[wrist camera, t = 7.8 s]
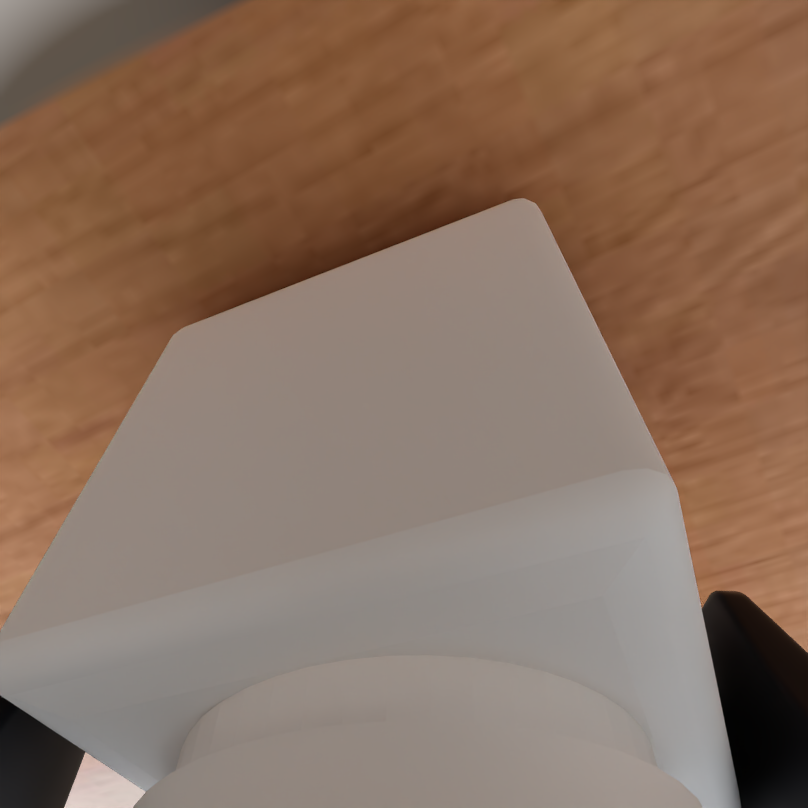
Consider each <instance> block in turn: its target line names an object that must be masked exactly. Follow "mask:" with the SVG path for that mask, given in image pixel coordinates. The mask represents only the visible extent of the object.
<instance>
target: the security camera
mask: <svg viewBox="0 0 808 808" xmlns="http://www.w3.org/2000/svg"><path fill="white" fill-rule="evenodd" d="M0 696H2V697H3V698H5V699H6V700H8V701H10V702H11V703H13V704H14V705H16V706H17V707H19V708H20V709H22V710H23V711H25V712H26V713H28V714H29V715H31V716H32V717H34V718H35V719H37V720H38V721H40V722H41V723H43V724H44V725H46V726H47V727H49V728H50V729H52V730H53V731H55V732H56V733H58V734H59V735H61V736H62V737H64V738H65V739H67V740H68V741H70V742H71V743H73V744H75V745H76V746H78V747H79V748H81V749H82V750H84V751H85V752H87V753H88V754H90V755H91V756H93V757H94V758H96V759H97V760H99V761H100V762H102V763H103V764H105V765H106V766H108V767H109V768H111V769H112V770H114V771H115V772H117V773H118V774H120V775H121V776H123V777H124V778H126V779H127V780H129V781H130V782H132V783H133V784H135V785H136V786H138V787H140V788H141V789H143V790H144V791H146V793H145V794H144V795H143V796H142V797H141V799H140V800H139V801H138V802H137V803H136V804H135V805H134V808H741V802H740V795H739V789H738V784H737V779H736V775H735V770H734V765H733V760H732V755H731V750H730V745H729V740H728V735H727V730H726V726H725V721H724V716H723V711H722V706H721V701H720V696H719V691H718V686H717V682H716V677H715V672H714V667H713V662H712V657H711V652H710V647H709V642H708V637H707V633H706V628H705V623H704V618H703V613H702V608H701V603H700V598H699V593H698V589H697V584H696V579H695V574H694V569H693V564H692V559H691V554H690V549H689V544H688V540H687V535H686V530H685V525H684V520H683V515H682V510H681V505H680V500H679V495H678V491H677V488H676V486H675V483H674V481H673V479H672V477H671V475H670V473H669V471H668V469H667V467H666V465H665V463H664V461H663V459H662V457H661V455H660V453H659V451H658V449H657V447H656V445H655V443H654V441H653V439H652V437H651V434H650V432H649V430H648V428H647V426H646V424H645V422H644V420H643V418H642V416H641V414H640V412H639V410H638V408H637V406H636V404H635V402H634V400H633V398H632V396H631V394H630V392H629V390H628V388H627V386H626V383H625V381H624V379H623V377H622V375H621V373H620V371H619V369H618V367H617V365H616V363H615V361H614V359H613V357H612V355H611V353H610V351H609V349H608V347H607V345H606V343H605V341H604V339H603V337H602V334H601V332H600V330H599V328H598V326H597V324H596V322H595V320H594V318H593V316H592V314H591V312H590V310H589V308H588V306H587V304H586V302H585V300H584V298H583V296H582V294H581V292H580V290H579V288H578V285H577V283H576V281H575V279H574V277H573V275H572V273H571V271H570V269H569V267H568V265H567V263H566V261H565V259H564V257H563V255H562V253H561V251H560V249H559V247H558V245H557V243H556V241H555V239H554V236H553V234H552V232H551V230H550V228H549V226H548V224H547V222H546V220H545V218H544V216H543V214H542V212H541V211H540V209H539V207H538V206H537V204H536V203H534V202H531V201H529V200H527V199H524V198H519V199H512V200H510V201H507V202H505V203H502V204H499V205H497V206H494V207H492V208H489V209H487V210H484V211H481V212H479V213H476V214H474V215H471V216H468V217H466V218H463V219H461V220H458V221H456V222H453V223H450V224H448V225H445V226H443V227H440V228H438V229H435V230H432V231H430V232H427V233H425V234H422V235H420V236H417V237H414V238H412V239H409V240H407V241H404V242H402V243H399V244H396V245H394V246H391V247H389V248H386V249H384V250H381V251H378V252H376V253H373V254H371V255H368V256H366V257H363V258H360V259H358V260H355V261H353V262H350V263H348V264H345V265H342V266H340V267H337V268H335V269H332V270H330V271H327V272H324V273H322V274H319V275H317V276H314V277H312V278H309V279H306V280H304V281H301V282H299V283H296V284H294V285H291V286H288V287H286V288H283V289H281V290H278V291H276V292H273V293H270V294H268V295H265V296H263V297H260V298H258V299H255V300H252V301H250V302H247V303H245V304H242V305H240V306H237V307H234V308H232V309H229V310H227V311H224V312H221V313H219V314H216V315H214V316H211V317H209V318H206V319H203V320H201V321H198V322H196V323H193V324H191V325H188V326H185V327H183V328H182V329H180V330H179V331H178V332H176V333H175V334H174V335H173V336H172V338H171V339H170V341H169V343H168V344H167V346H166V348H165V349H164V351H163V353H162V355H161V356H160V358H159V360H158V361H157V363H156V365H155V367H154V368H153V370H152V372H151V373H150V375H149V377H148V379H147V380H146V382H145V384H144V385H143V387H142V389H141V391H140V392H139V394H138V396H137V397H136V399H135V401H134V403H133V404H132V406H131V408H130V409H129V411H128V413H127V415H126V416H125V418H124V420H123V421H122V423H121V425H120V427H119V428H118V430H117V432H116V433H115V435H114V437H113V439H112V440H111V442H110V444H109V445H108V447H107V449H106V451H105V452H104V454H103V456H102V457H101V459H100V461H99V463H98V464H97V466H96V468H95V469H94V471H93V473H92V475H91V476H90V478H89V480H88V481H87V483H86V485H85V487H84V488H83V490H82V492H81V493H80V495H79V497H78V499H77V500H76V502H75V504H74V505H73V507H72V509H71V510H70V512H69V514H68V516H67V517H66V519H65V521H64V522H63V524H62V526H61V528H60V529H59V531H58V533H57V534H56V536H55V538H54V540H53V541H52V543H51V545H50V546H49V548H48V550H47V552H46V553H45V555H44V557H43V558H42V560H41V562H40V564H39V565H38V567H37V569H36V570H35V572H34V574H33V576H32V577H31V579H30V581H29V582H28V584H27V586H26V588H25V589H24V591H23V593H22V594H21V596H20V598H19V600H18V601H17V603H16V605H15V606H14V608H13V610H12V612H11V613H10V615H9V617H8V618H7V620H6V622H5V624H4V625H3V627H2V629H1V630H0Z"/></svg>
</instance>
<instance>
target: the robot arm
mask: <svg viewBox="0 0 808 808" xmlns="http://www.w3.org/2000/svg"><path fill="white" fill-rule="evenodd" d="M702 613H703V618H704V623H705V628H706V633H707V637H708V642H709V647H710V652H711V657H712V662H713V667H714V672H715V677H716V682H717V686H718V691H719V696H720V701H721V706H722V711H723V716H724V721H725V726H726V730H727V735H728V740H729V745H730V750H731V755H732V760H733V765H734V770H735V775H736V779H737V784H738V789H739V795H740V802H741V808H808V653H807V652H806V651H805V650H804V649H803V648H802V647H801V646H800V645H799V644H798V643H796V642H795V641H794V640H793V639H792V638H791V637H790V636H789V635H788V634H787V633H786V632H785V631H784V630H783V629H781V628H780V627H779V626H778V625H777V624H776V623H775V622H774V621H773V620H772V619H771V618H770V617H769V616H768V615H766V614H765V613H764V612H763V611H762V610H761V609H760V608H759V607H758V606H757V605H756V604H755V603H754V602H753V601H751V600H750V599H749V598H748V597H747V596H746V595H744V594H743V593H740V592H736V591H715V592H713V593H711V594H710V596H709V597H708V599H707V601H706V602H705V604H704V606H703V608H702ZM84 754H85V751H84V750H82V749H81V748H79V747H78V746H76V745H75V744H73V743H71V742H70V741H68V740H67V739H65V738H64V737H62V736H61V735H59V734H58V733H56V732H55V731H53V730H52V729H50V728H49V727H47V726H46V725H44V724H43V723H41V722H40V721H38V720H37V719H35V718H34V717H32V716H31V715H29V714H28V713H26V712H25V711H23V710H22V709H20V708H19V707H17V706H16V705H14V704H13V703H11V702H10V701H8V700H6V699H5V698H3V697H2V696H0V808H64V806H65V804H66V801H67V799H68V796H69V793H70V791H71V788H72V786H73V783H74V780H75V778H76V775H77V772H78V770H79V767H80V765H81V762H82V759H83V757H84Z"/></svg>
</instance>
